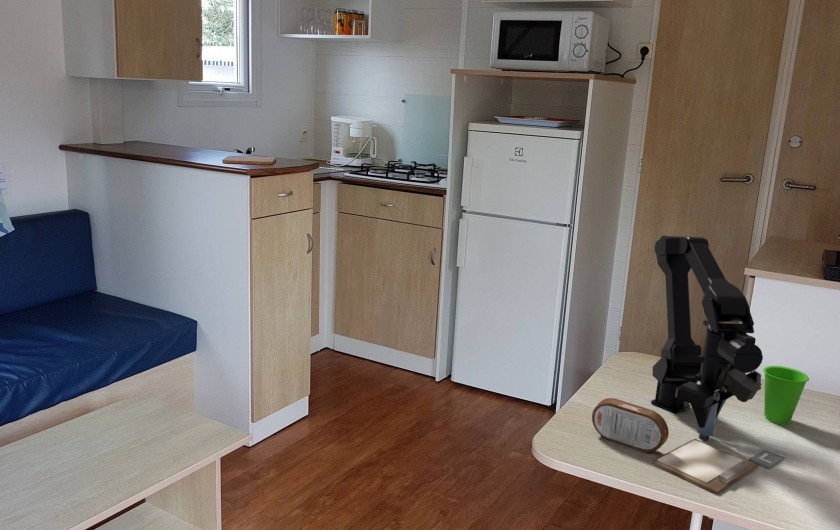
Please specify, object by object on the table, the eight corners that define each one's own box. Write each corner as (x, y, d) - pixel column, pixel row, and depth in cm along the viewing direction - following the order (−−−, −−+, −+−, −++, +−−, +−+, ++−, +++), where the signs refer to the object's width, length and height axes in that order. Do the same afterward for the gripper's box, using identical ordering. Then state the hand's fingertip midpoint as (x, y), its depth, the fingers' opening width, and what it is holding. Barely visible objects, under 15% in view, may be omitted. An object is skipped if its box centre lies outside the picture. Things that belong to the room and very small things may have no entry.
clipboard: (651, 463, 136) (652, 456, 136) (694, 441, 147) (695, 434, 146) (716, 494, 127) (717, 486, 127) (757, 468, 137) (759, 460, 137)
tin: (666, 453, 141) (672, 414, 139) (661, 459, 138) (667, 419, 136) (593, 429, 149) (598, 391, 147) (587, 434, 147) (592, 396, 145)
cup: (805, 431, 154) (815, 383, 152) (760, 425, 156) (769, 378, 153) (793, 414, 163) (802, 368, 160) (750, 408, 165) (758, 363, 162)
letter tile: (748, 460, 140) (748, 458, 140) (764, 450, 144) (764, 448, 144) (768, 469, 137) (769, 466, 137) (784, 458, 142) (785, 456, 141)
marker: (692, 437, 148) (700, 391, 146) (700, 433, 150) (708, 388, 148) (707, 443, 146) (715, 397, 144) (715, 439, 148) (723, 393, 146)
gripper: (735, 376, 132) (721, 453, 136) (779, 357, 144) (765, 428, 148) (679, 357, 140) (668, 430, 144) (726, 340, 152) (714, 408, 156)
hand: (706, 424), depth 148 cm, fingers open, 4 cm apart
